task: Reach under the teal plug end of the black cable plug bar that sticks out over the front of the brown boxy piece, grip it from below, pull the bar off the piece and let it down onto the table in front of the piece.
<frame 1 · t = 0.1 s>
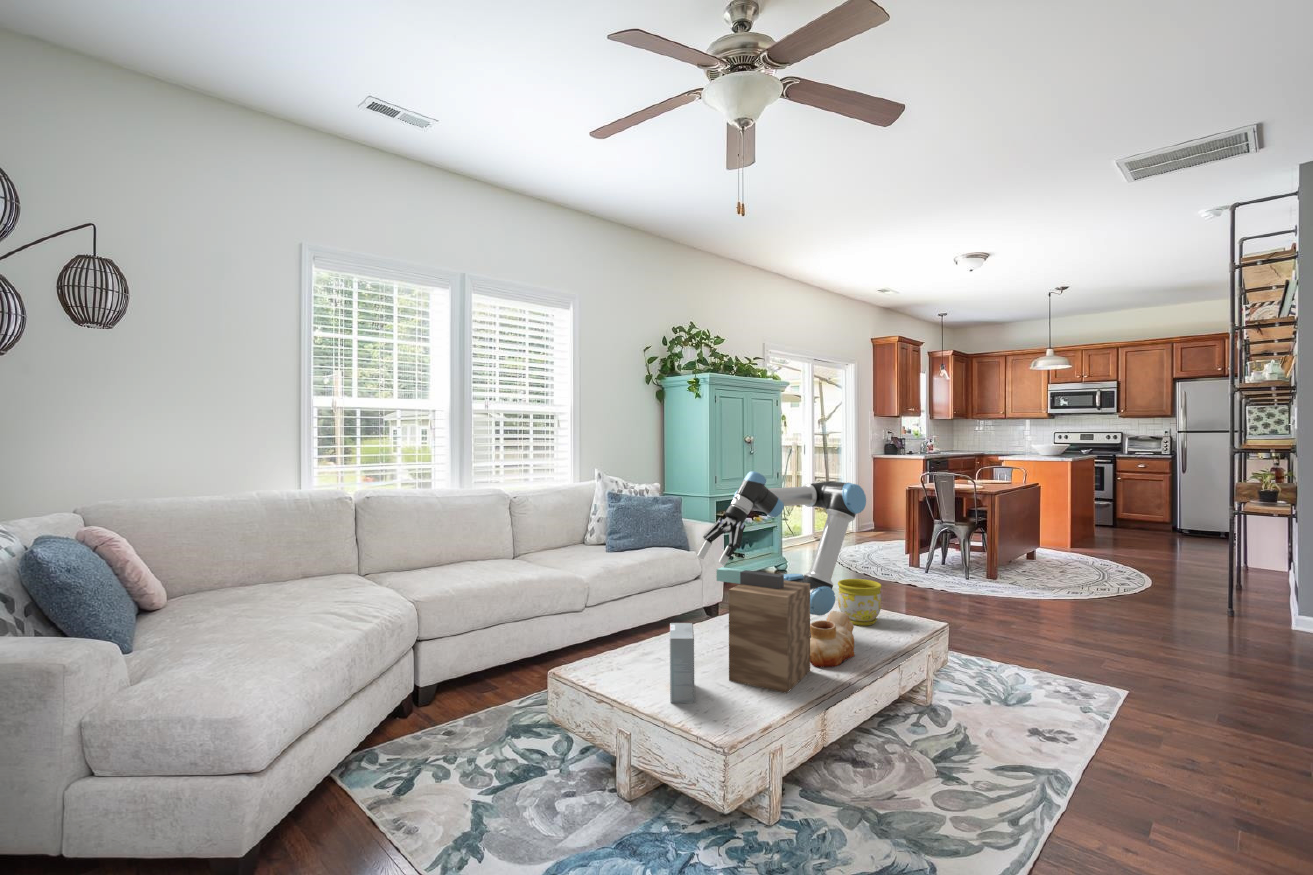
hand: (710, 560, 231), 36 cm above the table, tool tilted 35°, fingers open, 13 cm apart
plug bar: (742, 582, 223), point 30 cm above the table, touching brown boxy piece
hard drive box: (682, 693, 204), on the table
flowerpot: (859, 621, 279), on the table
brown boxy piece: (770, 675, 218), on the table
ceramic vessel: (831, 658, 235), on the table
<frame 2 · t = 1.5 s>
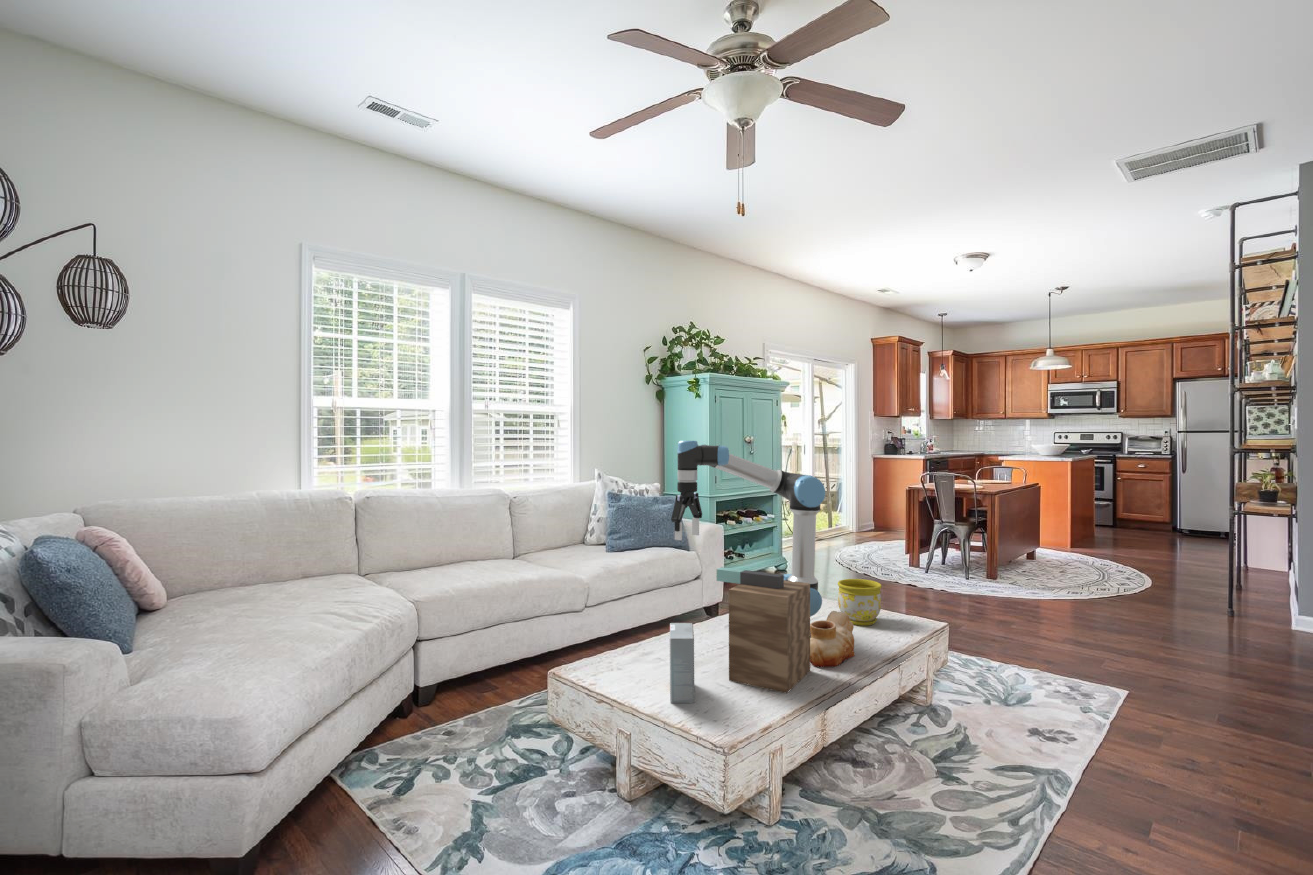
hand: (687, 537, 246), 42 cm above the table, tool pointing down, fingers open, 13 cm apart
nothing on the table moved.
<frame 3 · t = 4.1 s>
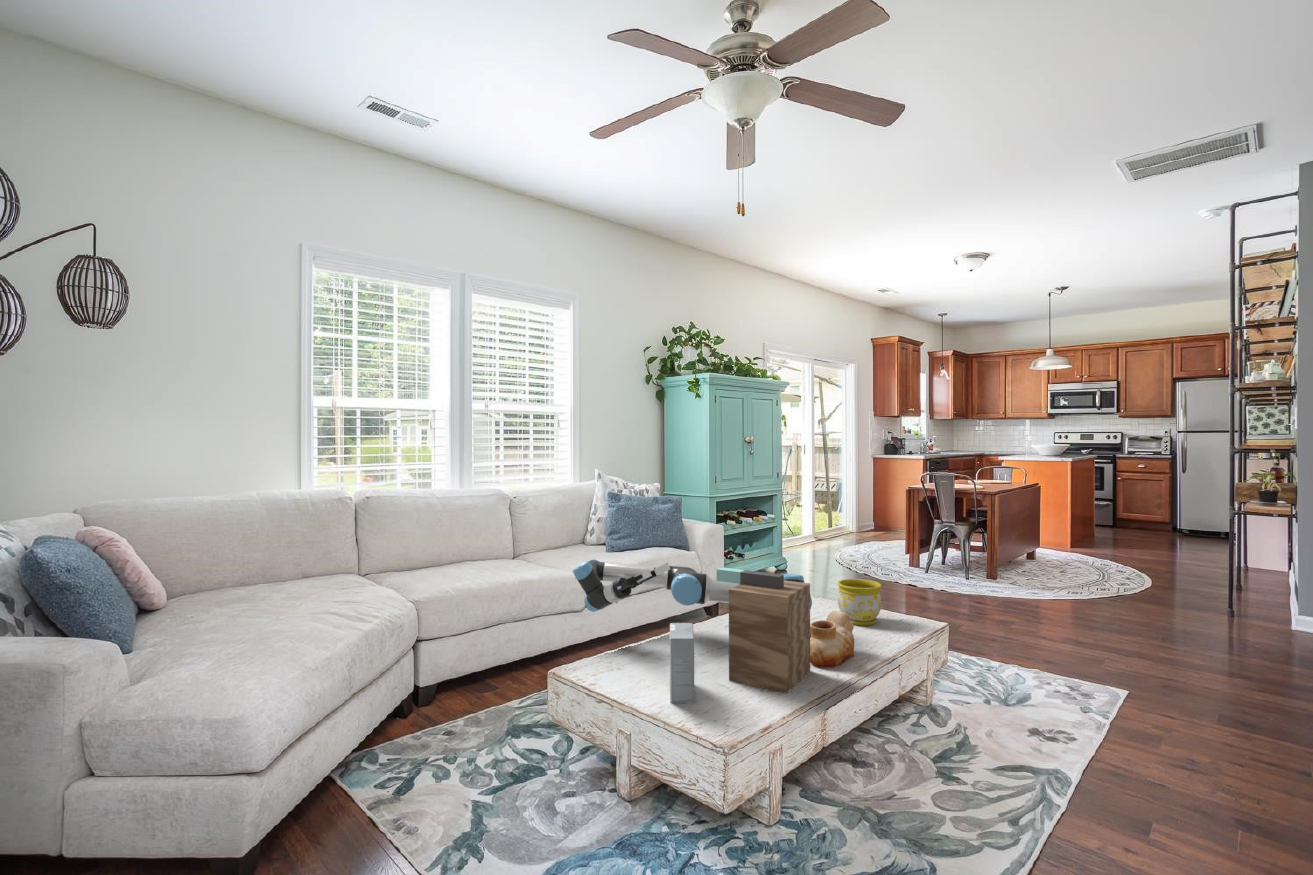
hand: (659, 569, 242), 31 cm above the table, tool pointing upward, fingers open, 13 cm apart
nothing on the table moved.
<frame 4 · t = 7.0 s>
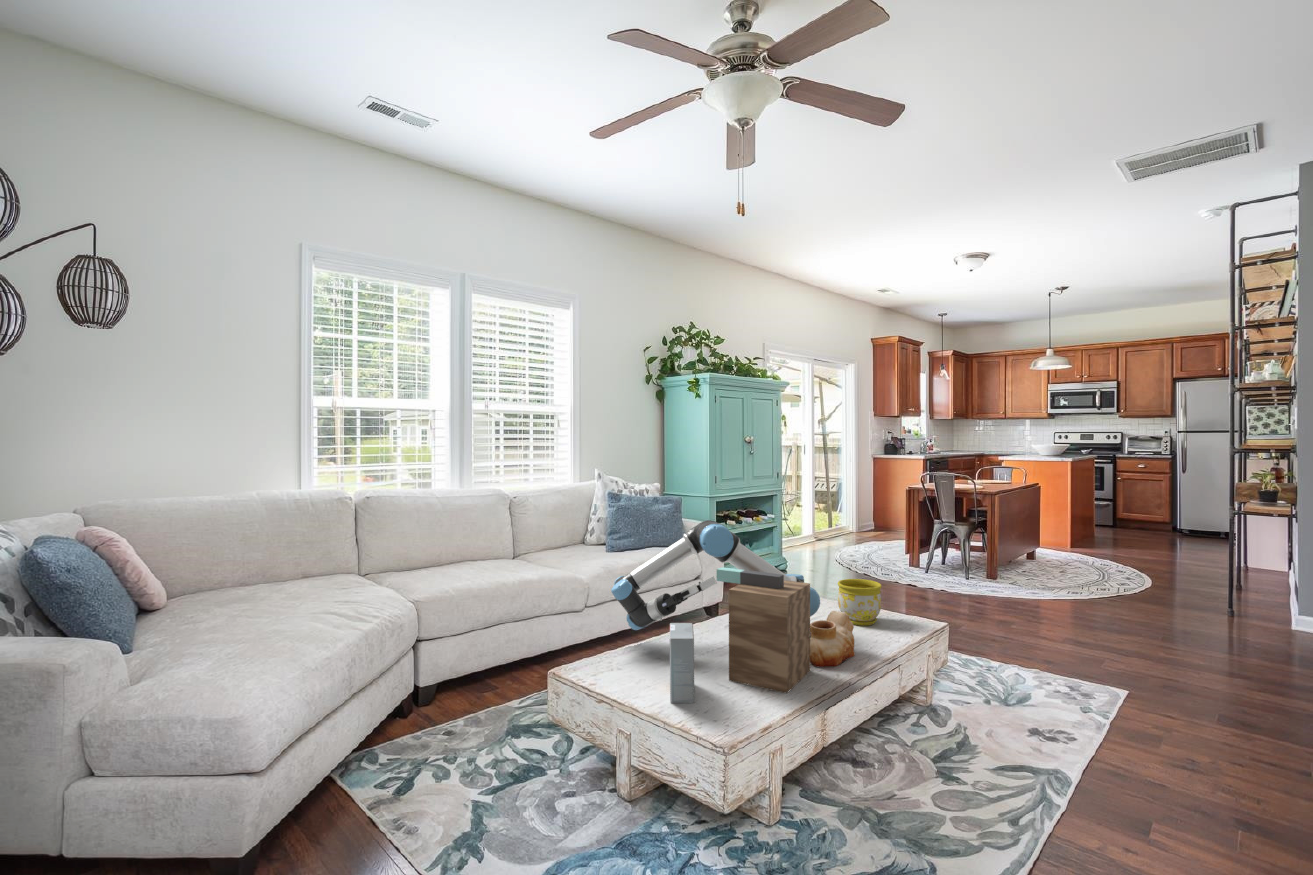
hand: (706, 583, 230), 28 cm above the table, tool pointing upward, fingers open, 13 cm apart
nothing on the table moved.
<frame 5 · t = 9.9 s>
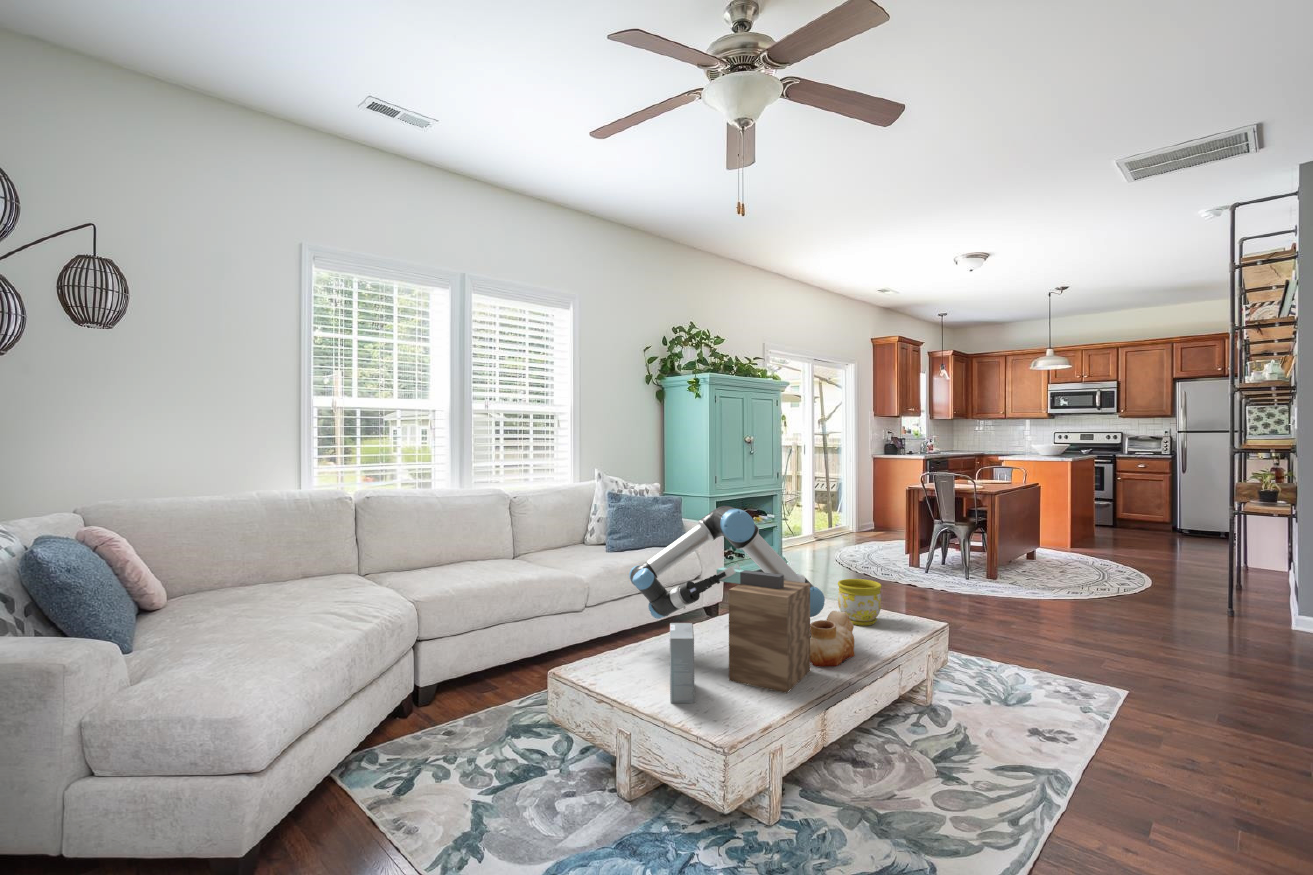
hand: (736, 568, 224), 35 cm above the table, tool pointing upward, fingers closed on plug bar, 4 cm apart
plug bar: (742, 582, 223), point 30 cm above the table, touching brown boxy piece, gripper
everything else where it was.
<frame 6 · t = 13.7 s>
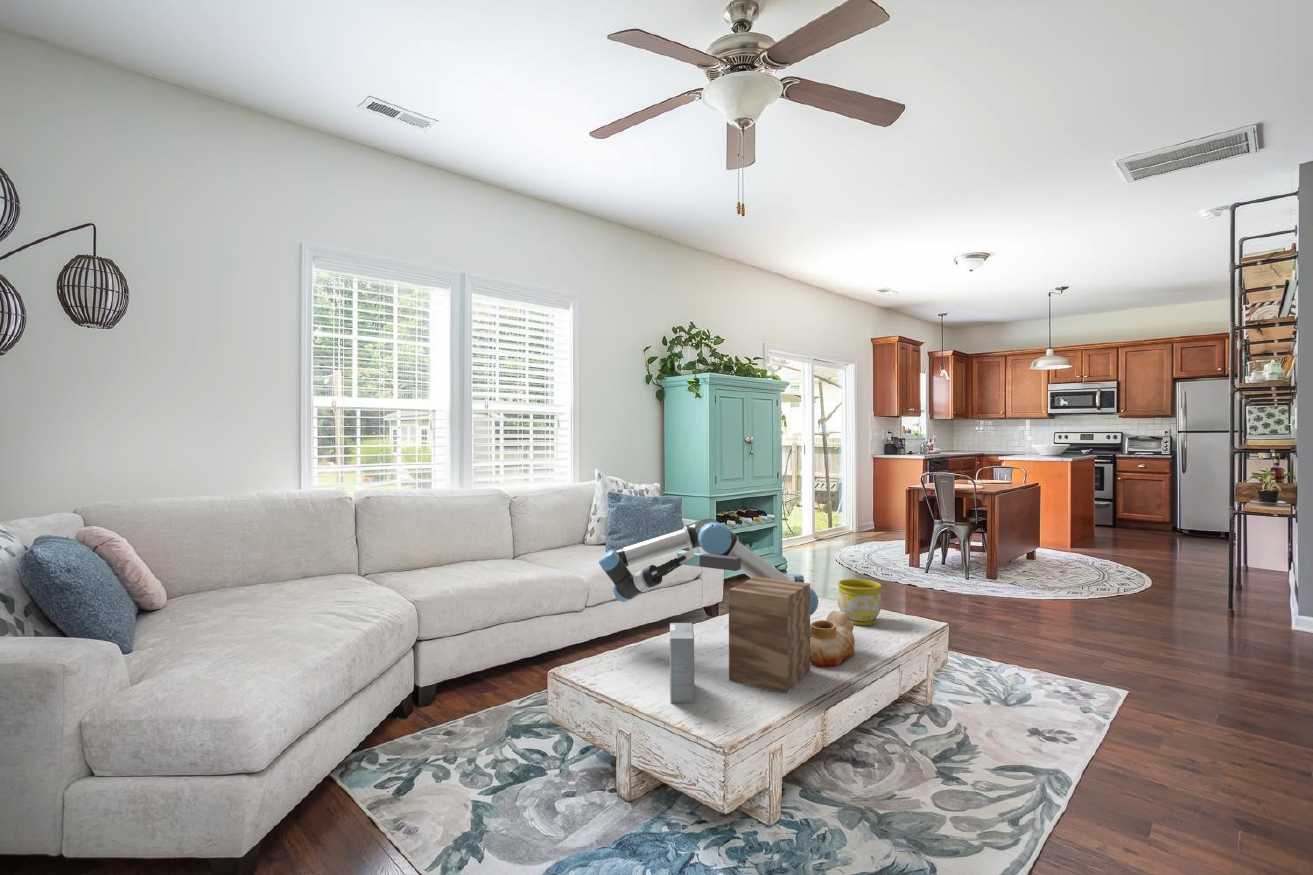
hand: (696, 551, 232), 39 cm above the table, tool pointing upward, fingers closed on plug bar, 4 cm apart
plug bar: (702, 565, 230), point 34 cm above the table, touching gripper
everything else where it was.
when the fingers open (28 cm above the table, at t = 17.7 s): plug bar drops 23 cm, on the table.
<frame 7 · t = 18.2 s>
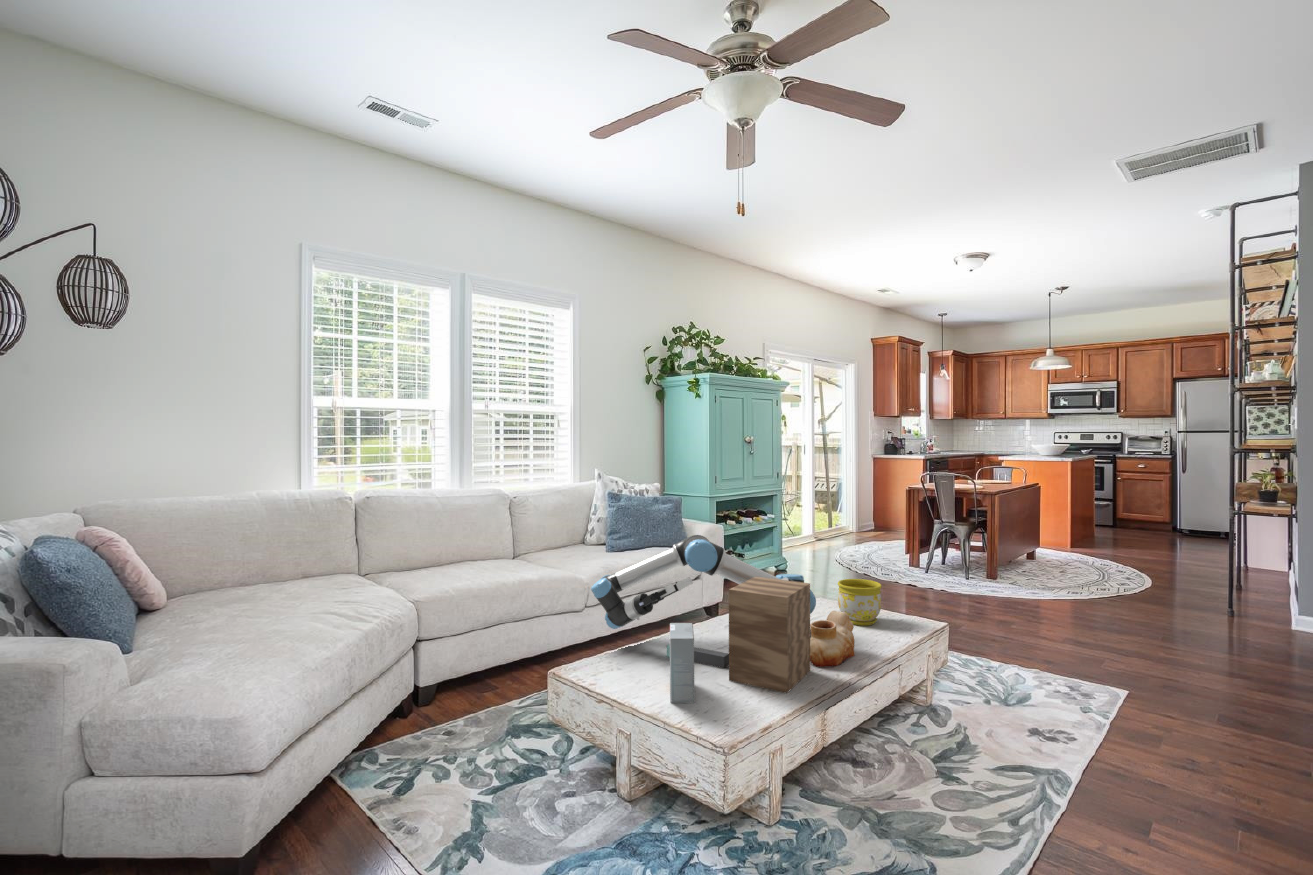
hand: (682, 583, 236), 27 cm above the table, tool pointing upward, fingers open, 12 cm apart
plug bar: (691, 659, 234), on the table
everything else where it was.
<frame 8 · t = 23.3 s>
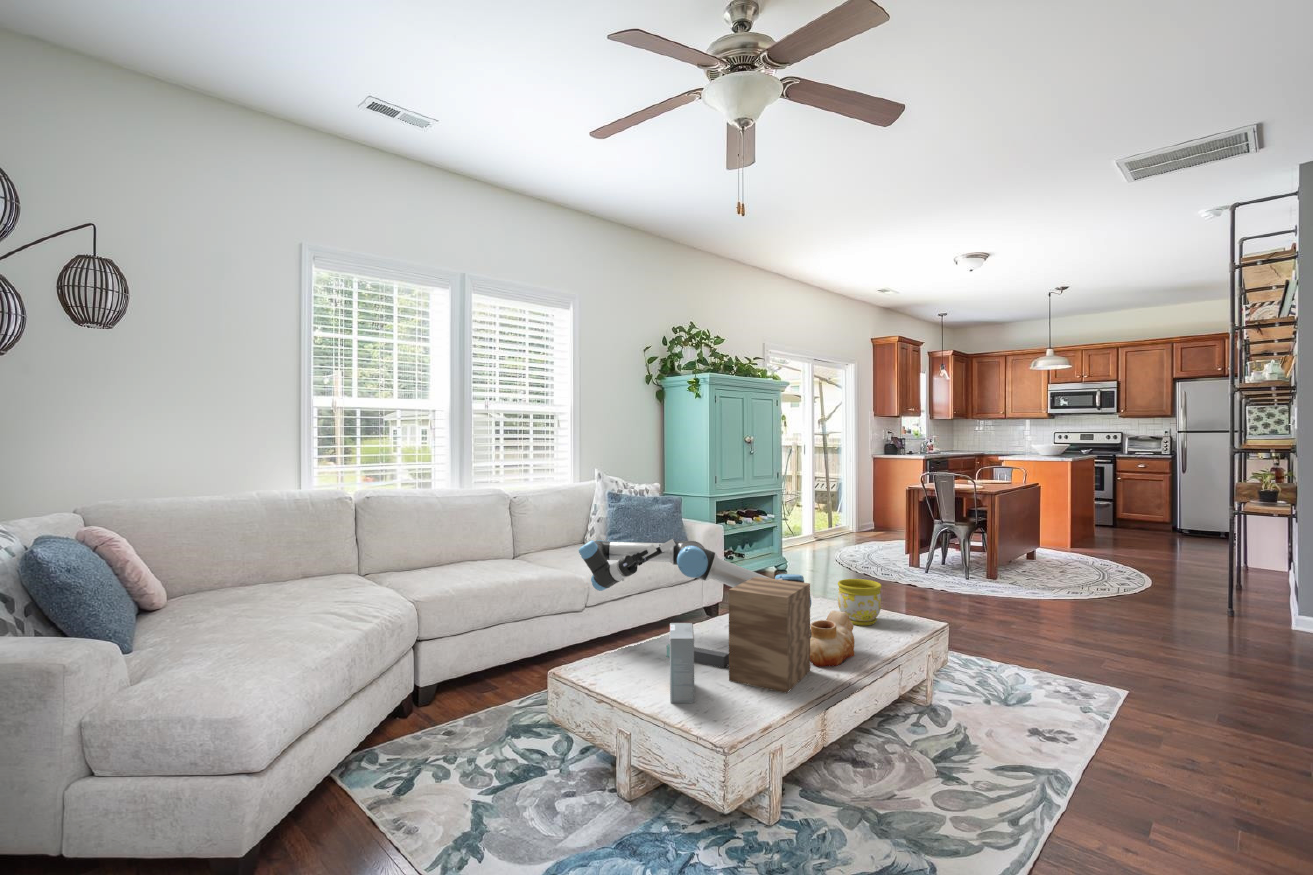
hand: (664, 544, 243), 40 cm above the table, tool pointing upward, fingers open, 13 cm apart
nothing on the table moved.
at the end: plug bar inside the target area (2.2 cm from its centre), on the table; plug bar touching table; the gripper is holding nothing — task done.
